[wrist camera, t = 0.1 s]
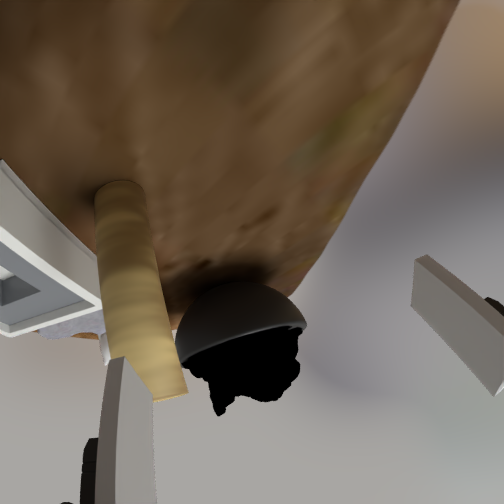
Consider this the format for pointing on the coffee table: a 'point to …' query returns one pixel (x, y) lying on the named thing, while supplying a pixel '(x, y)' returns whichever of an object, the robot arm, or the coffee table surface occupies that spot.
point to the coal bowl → (241, 342)
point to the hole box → (40, 264)
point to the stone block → (75, 326)
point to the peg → (134, 290)
